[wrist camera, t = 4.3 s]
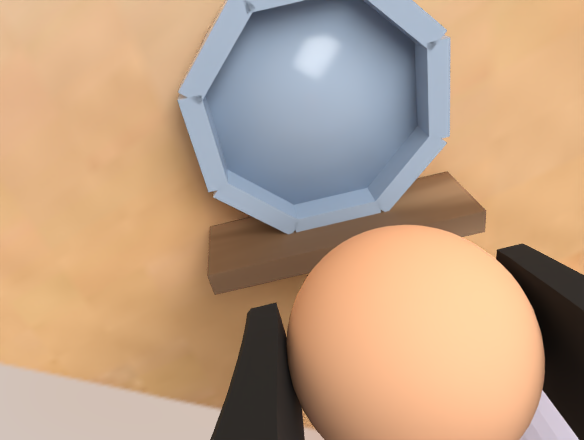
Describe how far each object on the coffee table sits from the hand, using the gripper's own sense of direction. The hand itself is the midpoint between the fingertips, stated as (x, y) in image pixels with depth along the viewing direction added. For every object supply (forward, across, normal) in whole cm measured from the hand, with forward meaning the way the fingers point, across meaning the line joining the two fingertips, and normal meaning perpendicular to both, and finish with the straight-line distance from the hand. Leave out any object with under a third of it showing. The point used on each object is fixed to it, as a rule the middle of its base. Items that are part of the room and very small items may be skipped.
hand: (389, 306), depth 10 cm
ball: (+1, 0, 0) cm, 1 cm away
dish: (+10, 0, -2) cm, 10 cm away
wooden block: (+10, 0, +3) cm, 10 cm away
